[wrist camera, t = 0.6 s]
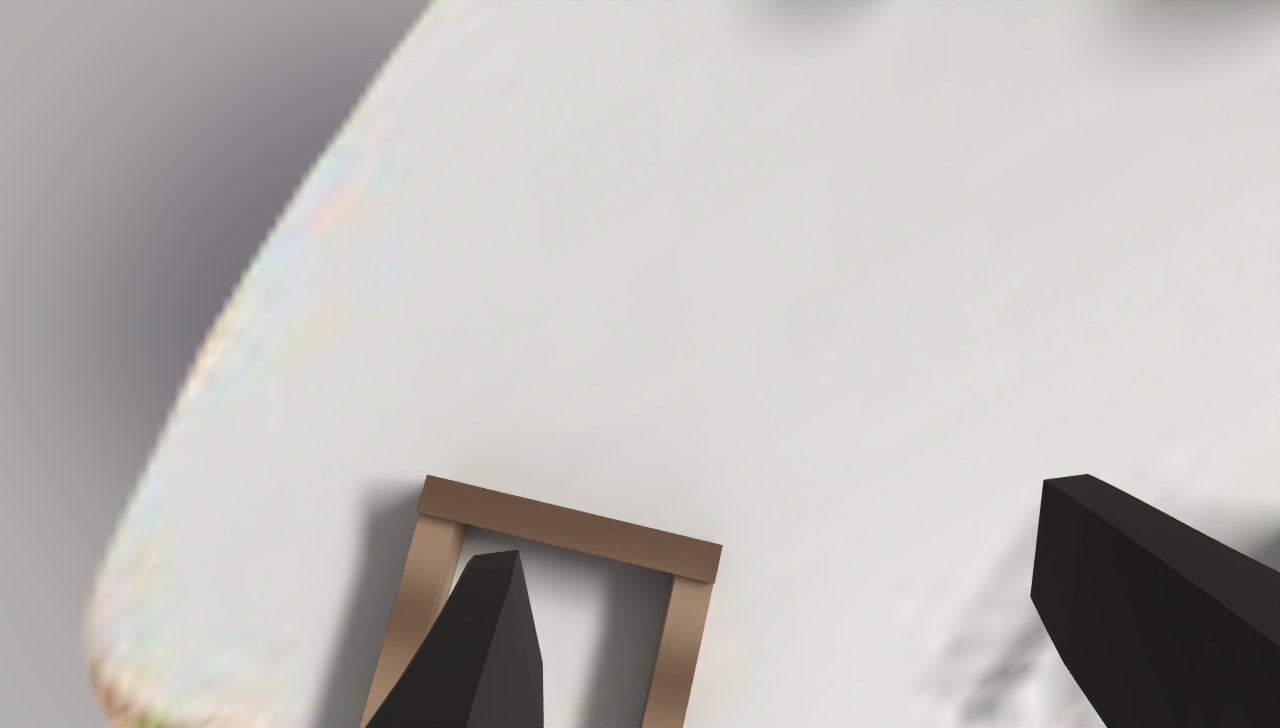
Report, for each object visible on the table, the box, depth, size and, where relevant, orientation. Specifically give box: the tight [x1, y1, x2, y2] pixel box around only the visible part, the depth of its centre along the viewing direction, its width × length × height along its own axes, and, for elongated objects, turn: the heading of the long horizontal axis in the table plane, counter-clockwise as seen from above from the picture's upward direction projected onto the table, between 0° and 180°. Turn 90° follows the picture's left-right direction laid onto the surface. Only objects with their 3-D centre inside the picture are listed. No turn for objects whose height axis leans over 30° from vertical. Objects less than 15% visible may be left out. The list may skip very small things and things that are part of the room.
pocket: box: [359, 475, 723, 728], centre depth 35 cm, size 11×12×3 cm
